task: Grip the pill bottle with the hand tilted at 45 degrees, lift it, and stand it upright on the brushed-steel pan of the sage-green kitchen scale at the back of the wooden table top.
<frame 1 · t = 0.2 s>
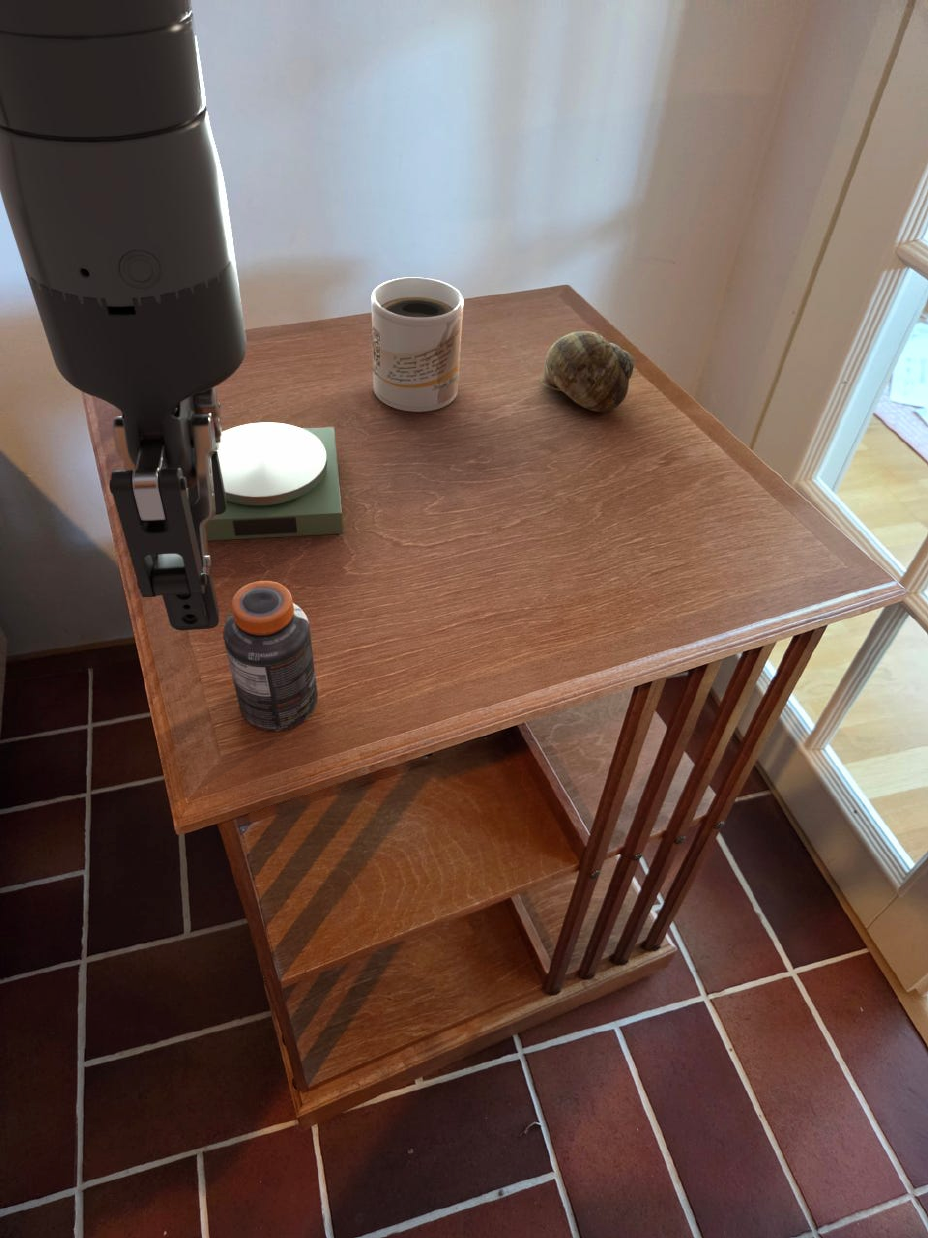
hand: (202, 564, 43), 22 cm above the table, tool pointing down, fingers open, 8 cm apart
scale: (267, 491, 82), on the table
mug: (416, 385, 97), on the table
seashell: (581, 399, 97), on the table
pill bottle: (279, 704, 64), on the table
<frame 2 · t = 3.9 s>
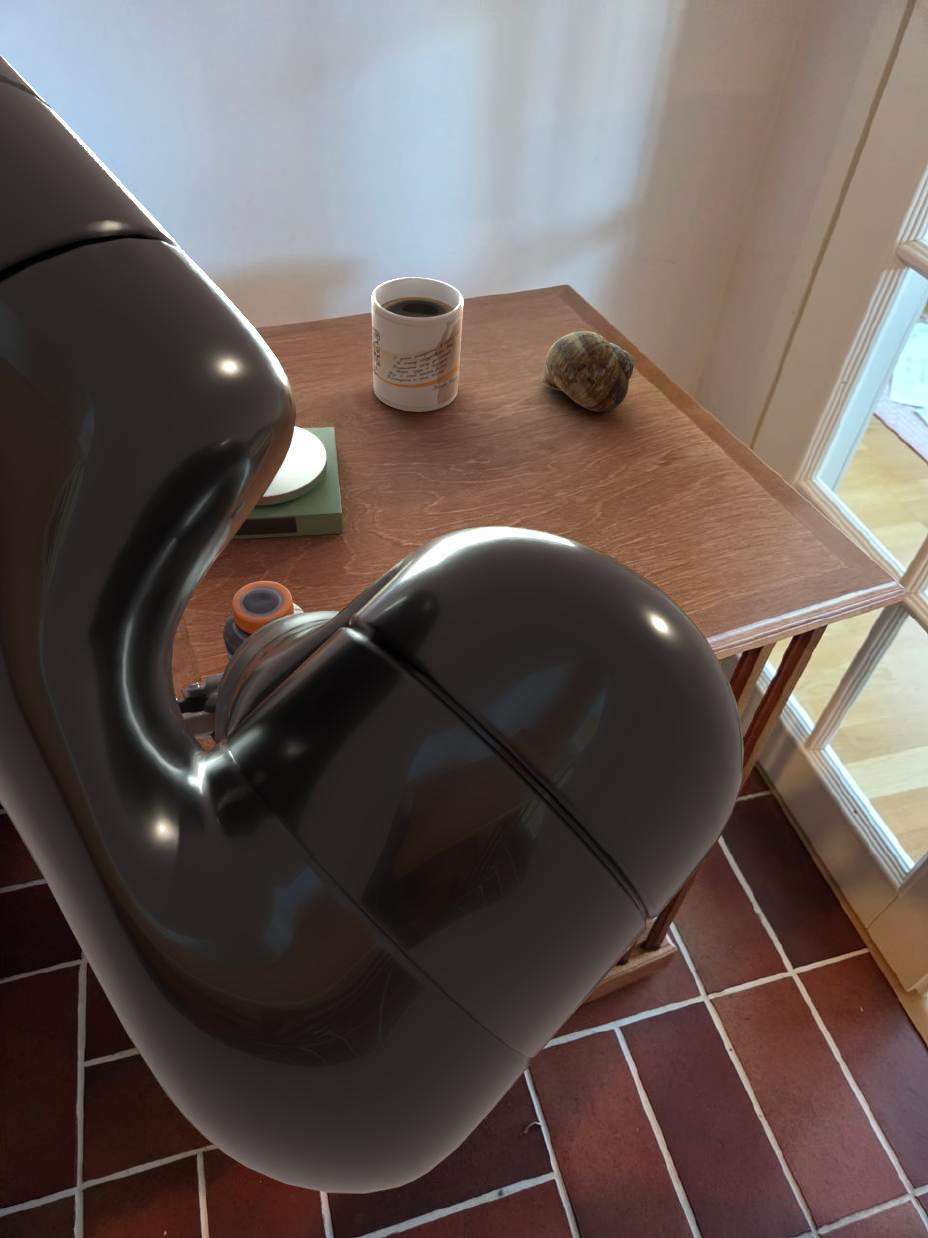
hand: (291, 682, 45), 16 cm above the table, tool tilted 45°, fingers open, 8 cm apart
nothing on the table moved.
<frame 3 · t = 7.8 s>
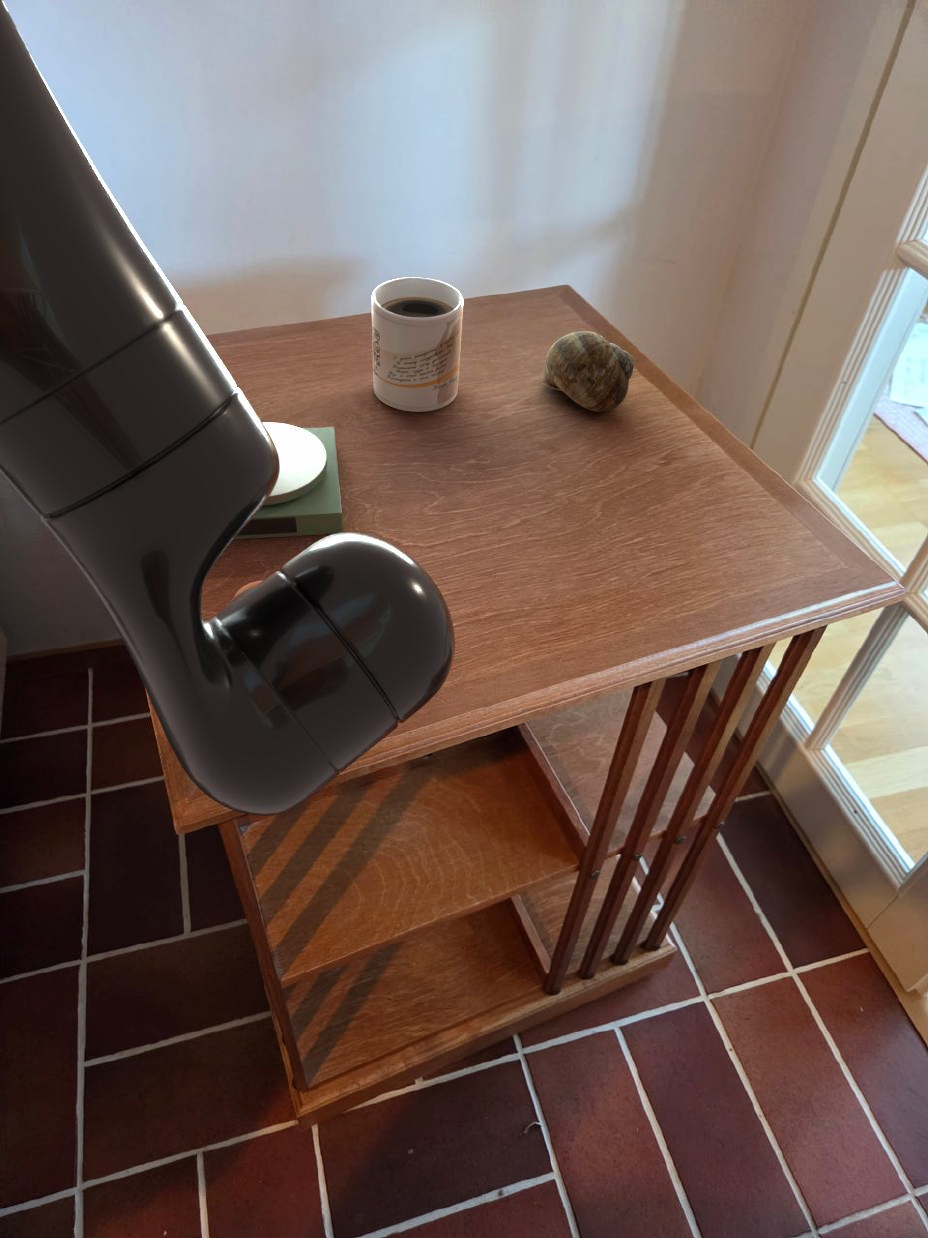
hand: (267, 640, 61), 5 cm above the table, tool tilted 45°, fingers closed on pill bottle, 6 cm apart
pill bottle: (279, 704, 64), on the table, touching gripper
everything else where it was.
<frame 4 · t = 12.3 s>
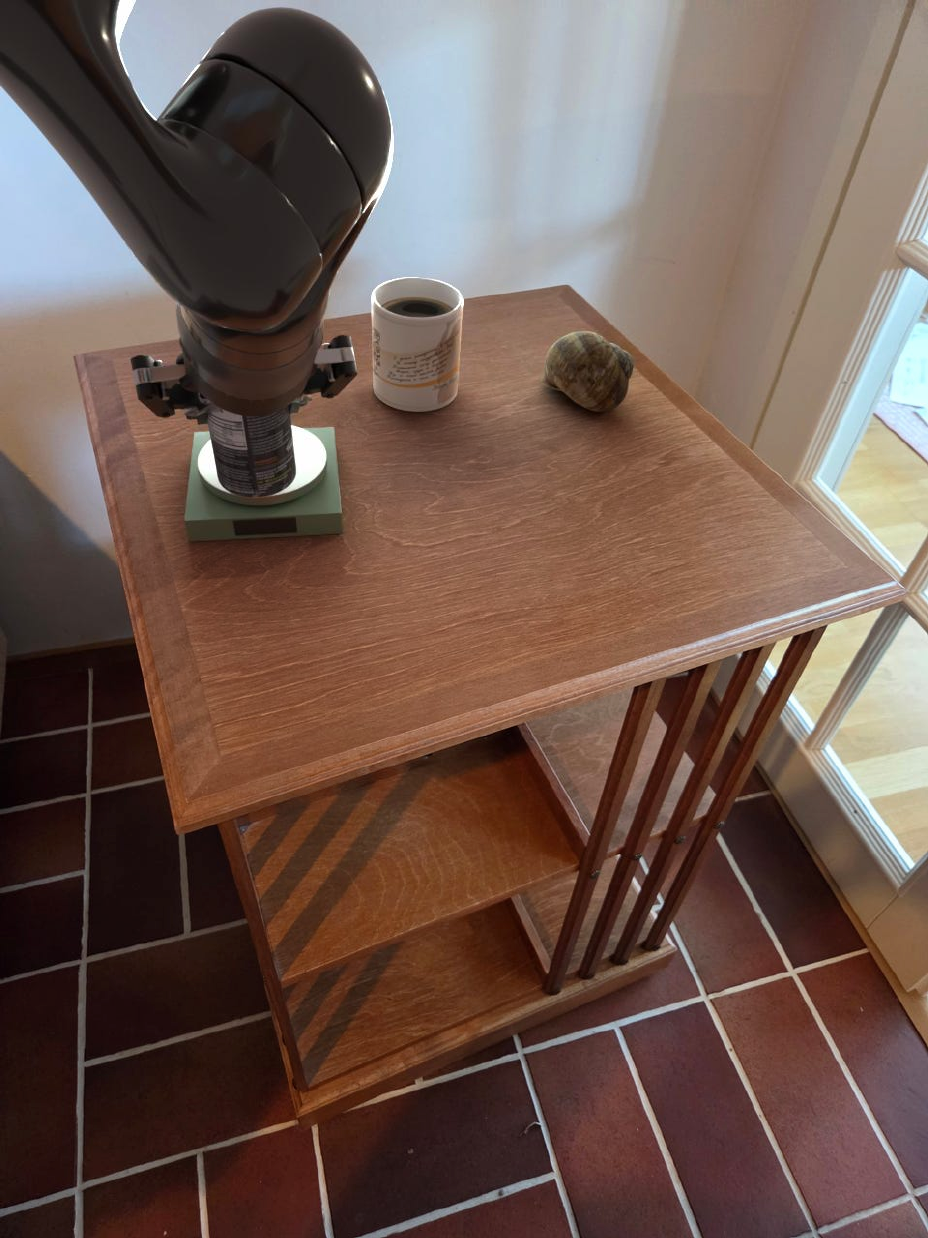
hand: (245, 405, 62), 17 cm above the table, tool tilted 45°, fingers closed on pill bottle, 6 cm apart
pill bottle: (257, 479, 64), point 12 cm above the table, touching gripper
everything else where it was.
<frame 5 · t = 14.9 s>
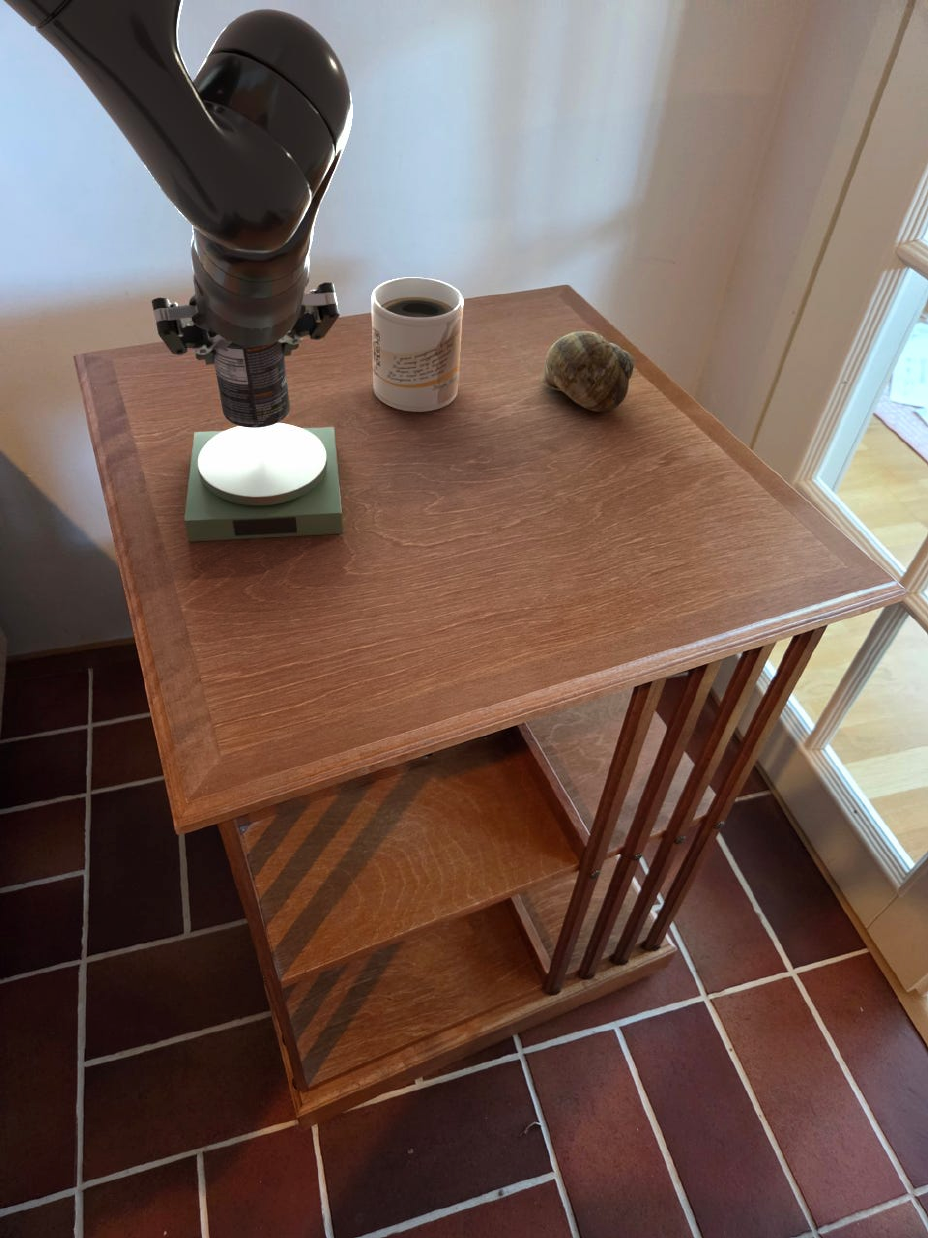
hand: (245, 348, 72), 14 cm above the table, tool tilted 45°, fingers closed on pill bottle, 6 cm apart
pill bottle: (257, 413, 75), point 9 cm above the table, touching gripper
everything else where it was.
when the fingers open (9 cm above the table, at t = 16.9 s): pill bottle stays where it is, resting on scale.
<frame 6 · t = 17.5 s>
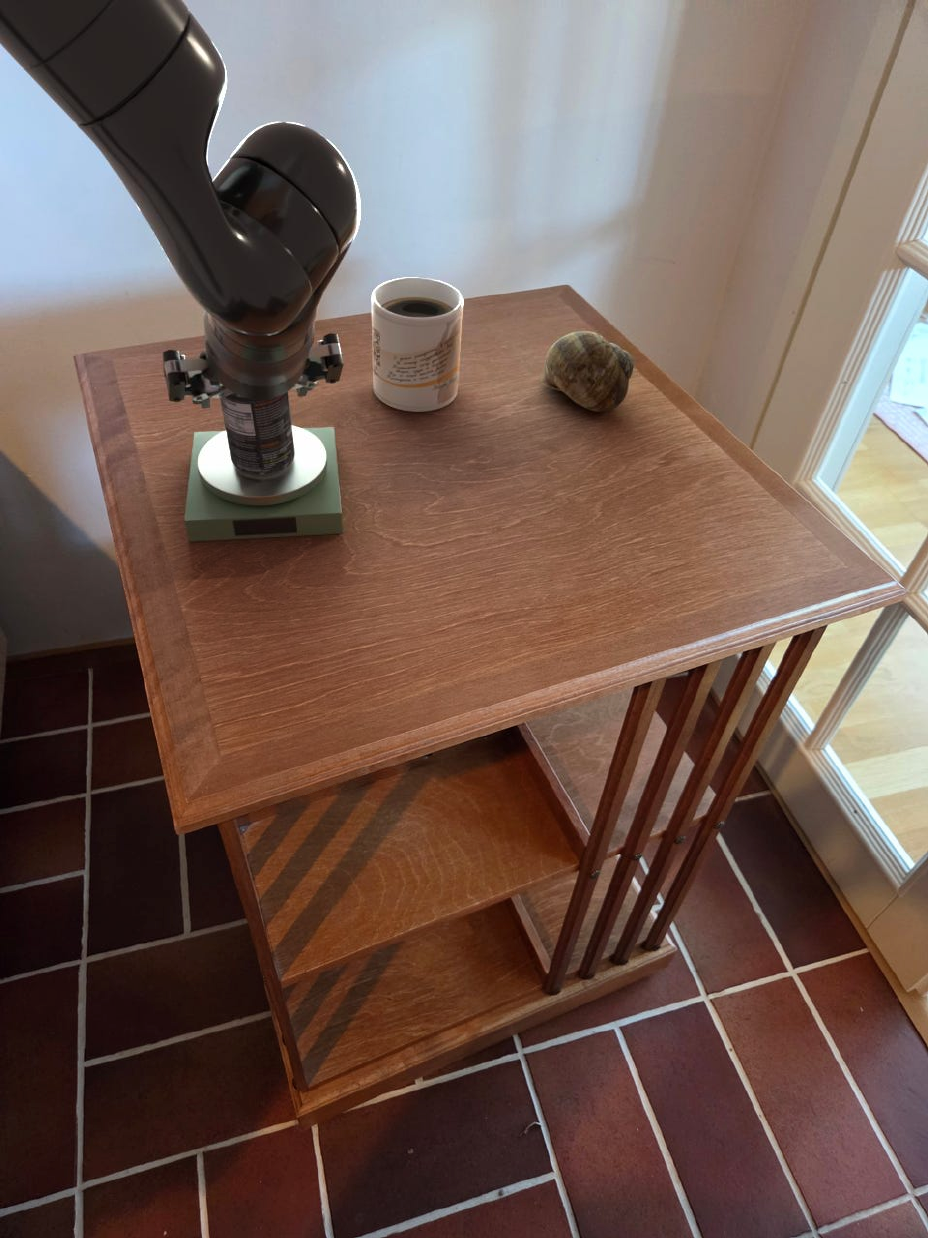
hand: (252, 391, 75), 10 cm above the table, tool tilted 45°, fingers open, 8 cm apart
pill bottle: (263, 460, 79), point 4 cm above the table, touching scale
everything else where it was.
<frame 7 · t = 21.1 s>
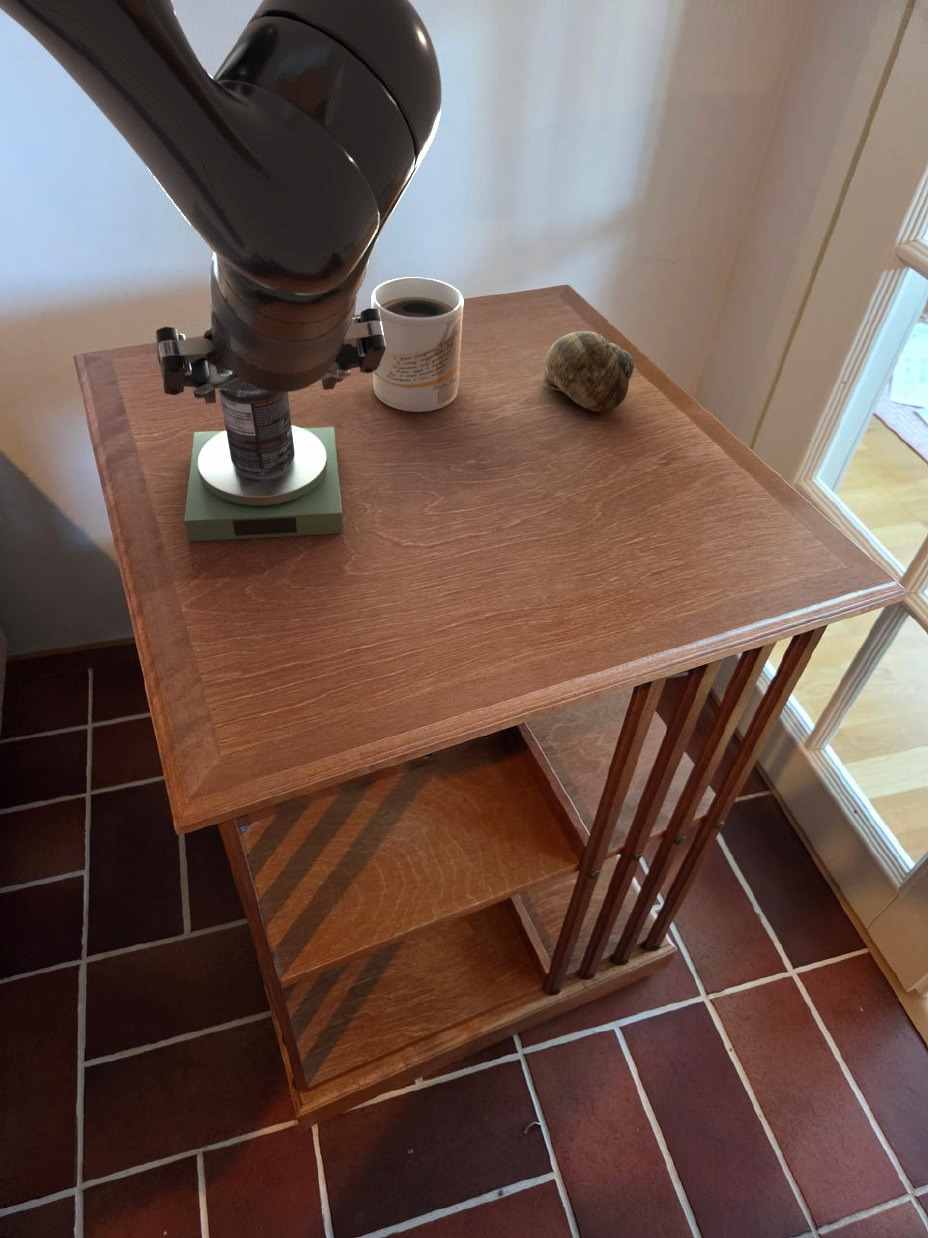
hand: (267, 382, 61), 19 cm above the table, tool tilted 45°, fingers open, 8 cm apart
nothing on the table moved.
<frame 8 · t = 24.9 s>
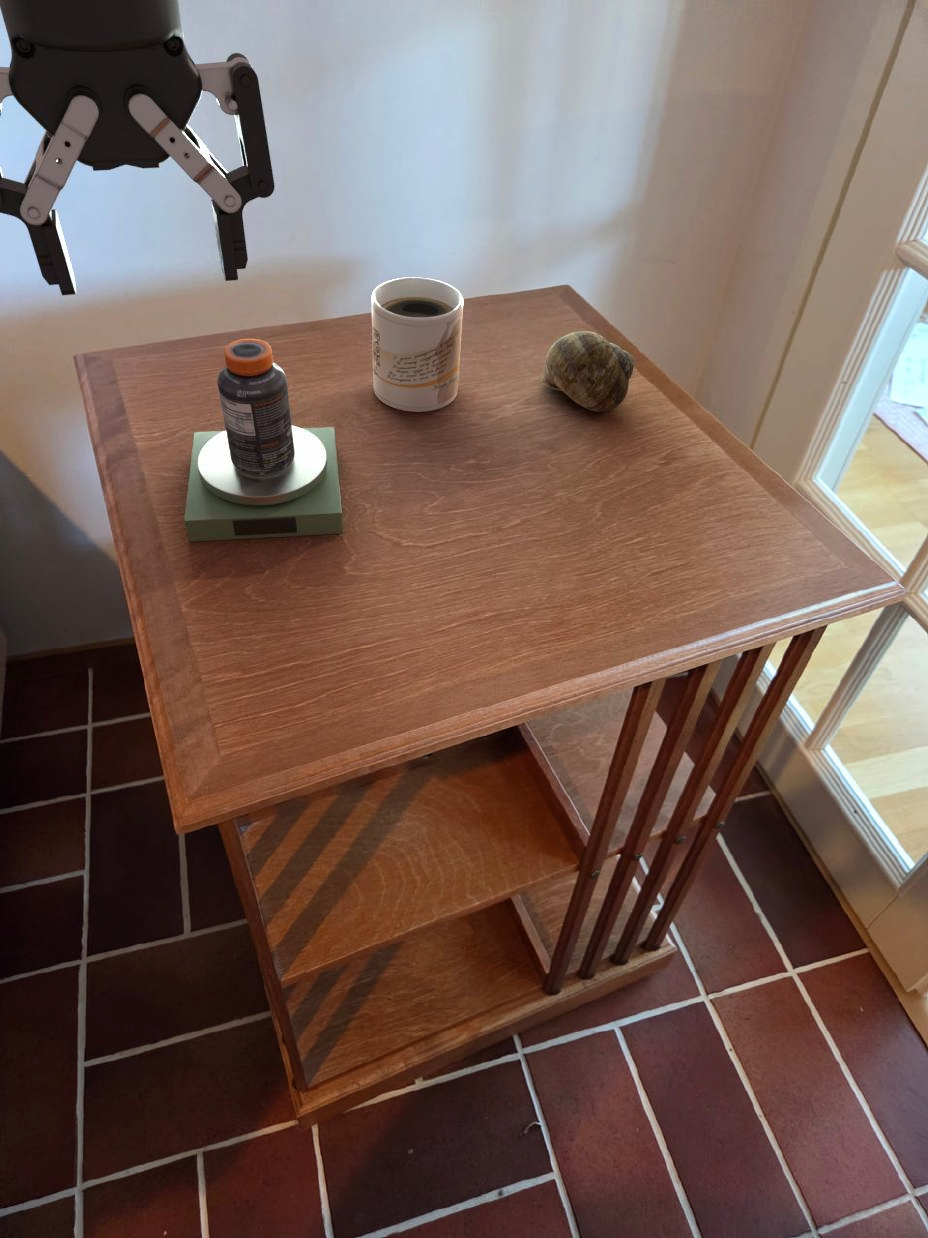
hand: (151, 281, 46), 30 cm above the table, tool pointing down, fingers open, 8 cm apart
nothing on the table moved.
at the end: pill bottle inside the target area on the scale (0.2 cm from its centre), point 3.8 cm above the scale's base; pill bottle tilted 0°; the gripper is holding nothing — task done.
